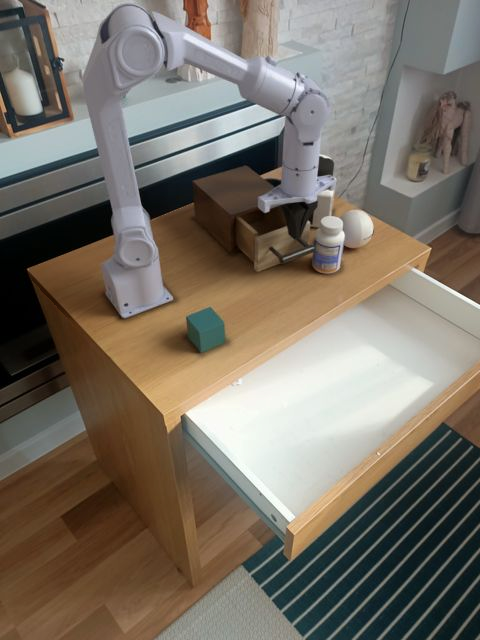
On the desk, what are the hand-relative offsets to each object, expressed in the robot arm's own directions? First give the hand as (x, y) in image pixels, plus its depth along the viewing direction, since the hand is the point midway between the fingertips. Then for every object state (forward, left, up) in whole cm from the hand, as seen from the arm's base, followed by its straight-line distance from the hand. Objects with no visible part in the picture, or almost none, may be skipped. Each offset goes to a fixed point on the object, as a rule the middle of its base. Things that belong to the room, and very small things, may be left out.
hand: (294, 235), depth 97 cm
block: (-22, -7, -8) cm, 24 cm away
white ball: (+17, +2, -9) cm, 19 cm away
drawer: (0, +7, -8) cm, 11 cm away
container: (+15, +14, -9) cm, 22 cm away
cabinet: (0, +19, -8) cm, 21 cm away
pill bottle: (+7, -1, -9) cm, 11 cm away
